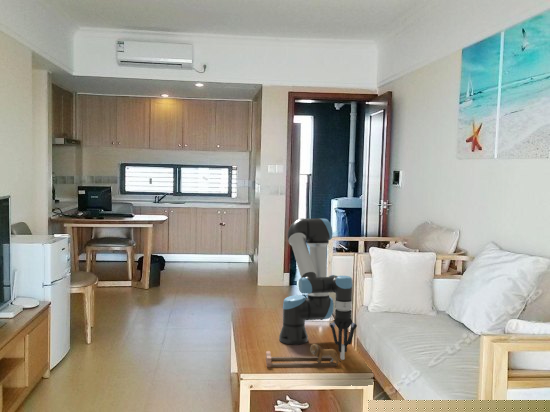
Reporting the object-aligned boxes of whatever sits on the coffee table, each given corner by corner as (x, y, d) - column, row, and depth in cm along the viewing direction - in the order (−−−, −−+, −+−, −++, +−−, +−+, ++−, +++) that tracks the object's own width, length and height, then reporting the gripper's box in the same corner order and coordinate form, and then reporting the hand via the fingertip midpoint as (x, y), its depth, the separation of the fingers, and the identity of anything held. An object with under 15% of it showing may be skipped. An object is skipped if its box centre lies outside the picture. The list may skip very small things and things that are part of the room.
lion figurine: (310, 364, 247) (310, 345, 247) (309, 360, 253) (309, 342, 252) (342, 365, 248) (342, 345, 247) (340, 361, 253) (340, 342, 252)
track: (265, 359, 253) (265, 351, 253) (332, 358, 255) (332, 350, 255) (266, 367, 243) (266, 358, 243) (336, 366, 245) (336, 357, 245)
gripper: (331, 311, 245) (329, 361, 246) (359, 311, 246) (357, 361, 247) (328, 307, 252) (327, 356, 254) (355, 307, 253) (354, 355, 255)
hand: (342, 358), depth 251 cm, fingers closed
